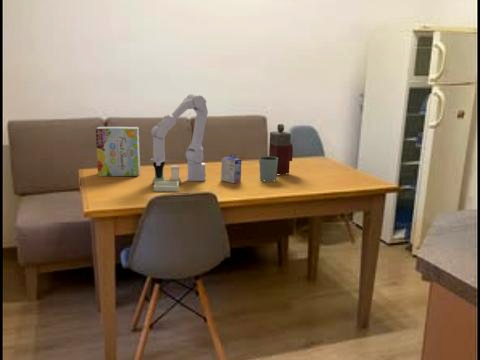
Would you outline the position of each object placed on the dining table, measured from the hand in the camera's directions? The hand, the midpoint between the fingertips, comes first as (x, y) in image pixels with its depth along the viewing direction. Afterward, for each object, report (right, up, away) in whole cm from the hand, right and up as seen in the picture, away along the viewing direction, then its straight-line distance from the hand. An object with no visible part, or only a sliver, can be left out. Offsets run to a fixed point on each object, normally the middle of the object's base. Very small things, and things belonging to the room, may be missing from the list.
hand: (159, 176), depth 252 cm
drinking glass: (+56, -2, +15) cm, 58 cm away
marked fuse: (0, -2, +1) cm, 2 cm away
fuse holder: (+4, -3, +1) cm, 5 cm away
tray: (+5, -6, -8) cm, 11 cm away
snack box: (-24, +1, +17) cm, 30 cm away
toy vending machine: (+64, +2, +32) cm, 71 cm away
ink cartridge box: (+36, -3, +10) cm, 38 cm away
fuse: (+8, -2, +2) cm, 8 cm away
